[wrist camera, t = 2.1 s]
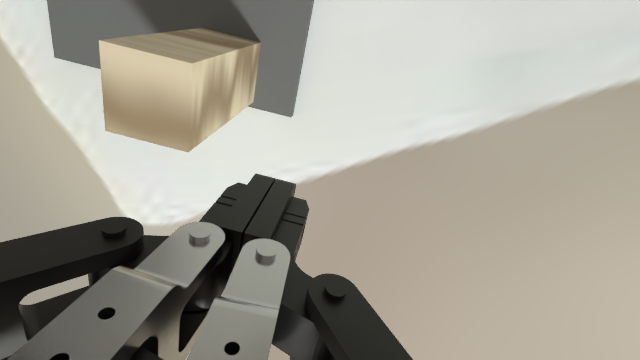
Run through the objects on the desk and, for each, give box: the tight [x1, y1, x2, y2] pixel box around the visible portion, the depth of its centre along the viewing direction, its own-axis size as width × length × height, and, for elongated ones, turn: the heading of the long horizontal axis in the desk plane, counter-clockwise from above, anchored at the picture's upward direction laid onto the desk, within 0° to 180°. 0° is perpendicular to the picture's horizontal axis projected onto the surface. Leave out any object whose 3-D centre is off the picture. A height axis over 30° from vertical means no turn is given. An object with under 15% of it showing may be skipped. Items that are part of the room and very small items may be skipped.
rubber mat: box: [47, 0, 314, 117], centre depth 29 cm, size 10×22×1 cm, turn 78°
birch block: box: [99, 28, 261, 152], centre depth 25 cm, size 5×5×12 cm
